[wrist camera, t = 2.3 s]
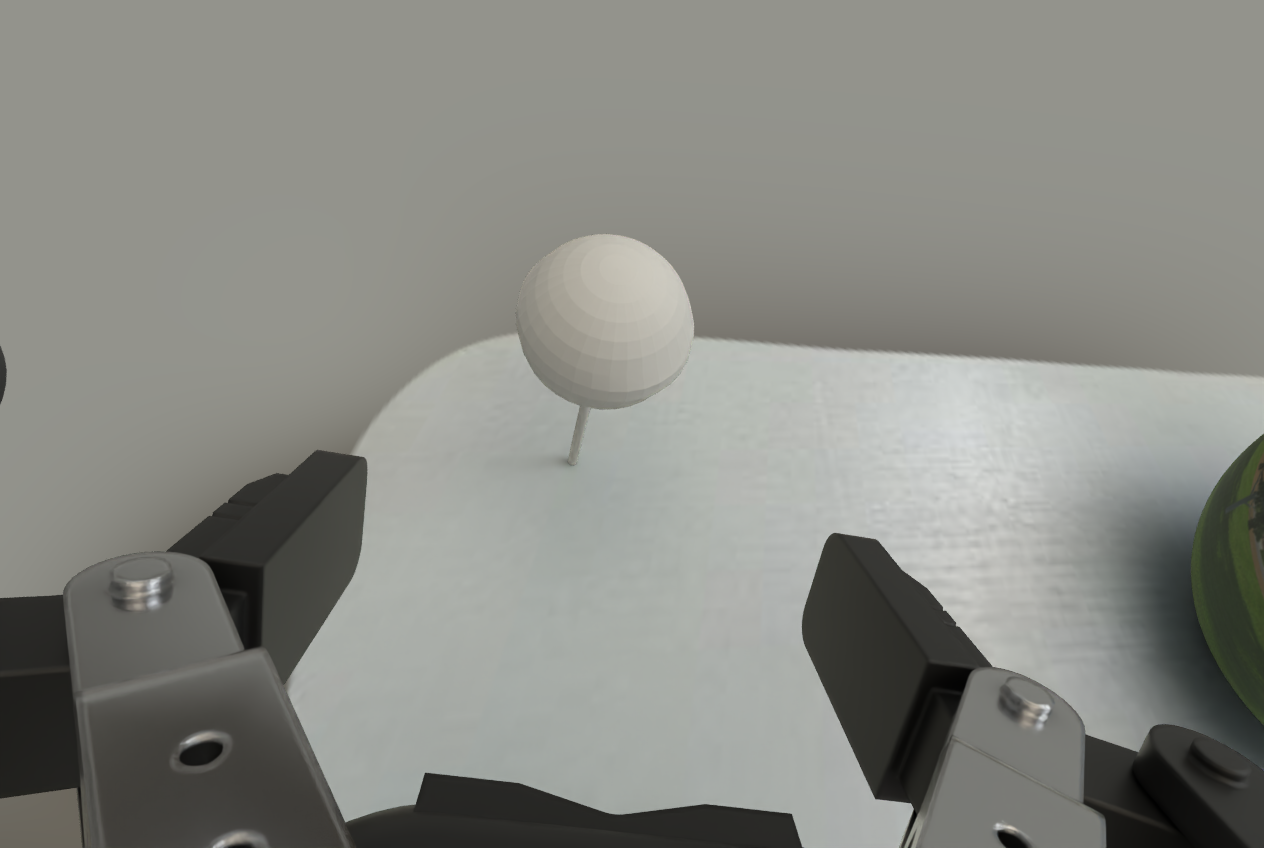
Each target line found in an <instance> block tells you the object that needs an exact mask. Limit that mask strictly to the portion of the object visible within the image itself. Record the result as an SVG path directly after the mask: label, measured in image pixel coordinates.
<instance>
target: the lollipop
mask: <svg viewBox="0 0 1264 848" xmlns="http://www.w3.org/2000/svg"><path fill="white" fill-rule="evenodd" d="M516 325H517V331H518V335H519V338H520V342H521V346H522V349H523V353H524V355H525V357H526V359H527V361H528V362H529V364H530V366H531V368H532V370H533V371H534V373H535V374H536V376H537V377H538V378H539V379H540V380H541V382H542V383H543V384H544V385H545V386H546V387H548V388H549V389H550V390H551V391H553V392H554V393H555V394H556V395H558V396H560V397H562V398H564V399H565V400H567V401H569V402H572V403H575V404H577V405H580V408H579V413H578V417H577V422H576V426H575V431H574V435H573V440H572V444H571V449H570V453H569V458H568V463H569V464H570V465H575V464H576V463H577V460H578V456H579V452H580V448H581V444H582V440H583V437H584V433H585V429H586V425H587V421H588V417H589V413H590V409H591V408H594V409H619V408H624V407H629V406H632V405H634V404H637V403H639V402H642V401H644V400H646V399H647V398H649V397H650V396H652V395H654V394H656V393H658V392H660V391H661V390H663V389H664V388H666V387H667V386H669V385H670V384H671V383H672V382H673V381H674V380H675V379H676V378H677V377H678V376H679V375H680V373H681V372H682V370H683V368H684V366H685V365H686V363H687V361H688V357H689V354H690V350H691V346H692V342H693V338H694V321H693V316H692V311H691V306H690V302H689V298H688V296H687V293H686V291H685V288H684V285H683V284H682V281H681V279H680V277H679V276H678V274H677V273H676V271H675V270H674V268H673V267H672V266H671V265H670V264H669V263H668V262H667V261H666V259H664V257H662V256H661V255H660V254H658V253H657V252H656V251H654V250H653V249H651V248H650V247H649V246H647V245H645V244H643V243H641V242H639V241H637V240H634V239H631V238H629V237H625V236H619V235H614V234H599V235H591V236H584V237H581V238H577V239H575V240H571V241H569V242H567V243H566V244H563V245H562V246H560V247H558V248H557V249H556V250H554V251H553V252H552V253H550V254H548V255H547V256H545V257H544V258H543V259H542V260H540V261H539V262H538V263H537V264H535V265H534V267H533V268H532V269H531V271H530V272H529V273H528V274H527V276H526V277H525V280H524V282H523V284H522V286H521V289H520V293H519V297H518V303H517V309H516Z"/></svg>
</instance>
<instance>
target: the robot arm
mask: <svg viewBox="0 0 1264 848" xmlns="http://www.w3.org/2000/svg"><path fill="white" fill-rule="evenodd" d="M366 485H367V461H366V459H365V458H364V457H359V456H353V455H346V454H339V453H334V452H327V451H321V450H317V451H315V452H314V453H313V454H312V455H310V457H308V458H307V459H306V460H305V461H304V462H303V463H302V464H301V465H299V466H298V467H297V468H296V469H295V470H294V471H293V472H292V473H291V474H289V475H285V474H278V473H276V474H273V475H271V476H268V477H265V478H263V479H260V480H257V481H255V482H252V483H249V484H247V485H246V486H244V487H243V488H242V489H241V490H240V491H238V492H237V493H236V494H235V495H234V496H233V497H231V498H230V499H229V501H228V503H224V504H223V505H222V506H220V507H219V508H218V509H217V510H215V511H214V512H213V515H212V516H209V517H207V518H206V519H205V520H204V521H202V522H201V523H200V524H198V525H197V526H196V527H195V528H194V529H192V530H191V531H190V532H189V533H188V534H186V535H185V536H184V537H183V538H181V539H180V540H179V541H178V542H177V543H175V544H174V545H173V546H172V547H171V548H170V549H168V550H167V551H166V552H160V551H157V552H141V553H134V554H128V555H122V556H118V557H115V558H111V559H108V560H105V561H102V562H99V563H97V564H95V565H92V566H90V567H88V568H86V569H85V570H83V571H81V572H80V573H78V574H77V575H76V576H74V577H73V578H72V579H71V580H70V581H69V582H68V583H67V585H66V586H65V588H64V592H63V595H56V596H37V597H17V598H16V597H15V598H0V798H7V797H14V796H21V795H27V794H35V793H42V792H49V791H56V790H63V789H70V788H77V800H78V810H79V820H80V830H81V841H82V848H803V847H802V845H801V842H800V839H799V836H798V832H797V829H796V826H795V823H794V820H793V816H792V814H788V813H779V812H770V811H761V810H752V809H743V808H734V807H726V806H717V805H708V804H704V805H696V806H688V807H680V808H672V809H664V810H656V811H648V812H640V813H632V814H624V815H615V814H609V813H605V812H602V811H599V810H596V809H593V808H590V807H587V806H584V805H581V804H578V803H575V802H572V801H570V800H567V799H564V798H561V797H558V796H555V795H552V794H549V793H546V792H543V791H540V790H537V789H534V788H531V787H529V786H526V785H523V784H520V783H512V782H503V781H494V780H485V779H476V778H467V777H459V776H450V775H441V774H432V773H425V775H424V778H423V782H422V785H421V789H420V792H419V795H418V799H417V802H416V805H408V806H401V807H396V808H392V809H387V810H383V811H378V812H375V813H372V814H369V815H366V816H363V817H360V818H357V819H354V820H351V821H348V822H346V823H345V821H344V819H343V817H342V814H341V812H340V810H339V808H338V805H337V803H336V801H335V799H334V797H333V794H332V792H331V790H330V788H329V786H328V783H327V781H326V779H325V777H324V774H323V772H322V770H321V768H320V766H319V763H318V761H317V759H316V757H315V754H314V752H313V750H312V748H311V746H310V743H309V741H308V739H307V737H306V734H305V732H304V730H303V728H302V726H301V723H300V721H299V719H298V717H297V714H296V712H295V710H294V708H293V706H292V703H291V701H290V699H289V697H288V695H287V692H286V690H285V688H284V684H285V682H286V681H287V679H288V678H289V676H290V675H291V673H292V672H293V670H294V668H295V667H296V665H297V664H298V662H299V661H300V659H301V657H302V656H303V654H304V653H305V651H306V650H307V648H308V647H309V645H310V643H311V642H312V640H313V639H314V637H315V636H316V634H317V633H318V631H319V629H320V628H321V626H322V625H323V623H324V622H325V620H326V618H327V617H328V615H329V614H330V612H331V611H332V609H333V608H334V606H335V604H336V603H337V601H338V600H339V598H340V597H341V595H342V594H343V592H344V590H345V589H346V587H347V586H348V584H349V583H350V581H351V579H352V577H353V575H354V572H355V570H356V567H357V564H358V560H359V556H360V551H361V545H362V534H363V522H364V510H365V497H366ZM802 635H803V641H804V644H805V647H806V649H807V651H808V653H809V656H810V658H811V660H812V662H813V664H814V667H815V669H816V671H817V673H818V675H819V677H820V680H821V682H822V684H823V686H824V688H825V690H826V693H827V695H828V697H829V699H830V701H831V704H832V706H833V708H834V710H835V712H836V714H837V717H838V719H839V721H840V723H841V725H842V728H843V730H844V732H845V734H846V736H847V738H848V741H849V743H850V745H851V747H852V749H853V752H854V754H855V756H856V758H857V760H858V762H859V765H860V767H861V769H862V771H863V773H864V776H865V778H866V780H867V782H868V784H869V786H870V789H871V791H872V793H873V795H874V797H875V799H880V800H888V801H897V802H906V803H911V804H912V806H913V808H914V810H913V812H912V815H911V817H910V820H909V822H908V824H907V827H906V829H905V832H904V835H903V837H902V840H901V843H900V846H899V848H1264V771H1263V770H1262V769H1260V768H1259V767H1258V766H1257V765H1255V764H1254V763H1252V762H1251V761H1250V760H1248V759H1247V758H1245V757H1244V756H1242V755H1241V754H1239V753H1238V752H1236V751H1234V750H1233V749H1231V748H1229V747H1228V746H1226V745H1224V744H1222V743H1220V742H1218V741H1216V740H1214V739H1212V738H1210V737H1208V736H1206V735H1203V734H1201V733H1198V732H1196V731H1193V730H1190V729H1187V728H1183V727H1179V726H1175V725H1167V724H1162V725H1156V726H1154V727H1152V728H1151V729H1150V731H1149V733H1148V735H1147V737H1146V739H1145V741H1144V743H1143V744H1142V746H1141V748H1140V750H1139V752H1136V751H1133V750H1130V749H1127V748H1124V747H1121V746H1118V745H1115V744H1112V743H1109V742H1106V741H1103V740H1100V739H1097V738H1094V737H1091V736H1088V735H1085V726H1084V724H1083V721H1082V719H1081V718H1080V716H1079V715H1078V713H1077V712H1076V711H1075V710H1074V709H1073V708H1072V707H1071V706H1070V705H1069V704H1068V703H1067V702H1066V701H1065V700H1064V699H1062V698H1061V697H1060V696H1058V695H1057V694H1056V693H1054V692H1053V691H1051V690H1050V689H1048V688H1047V687H1045V686H1043V685H1042V684H1040V683H1038V682H1036V681H1034V680H1032V679H1030V678H1028V677H1026V676H1023V675H1021V674H1018V673H1015V672H1012V671H1009V670H1005V669H1001V668H995V667H992V665H991V664H990V663H989V662H988V661H987V659H986V658H985V657H984V656H983V655H982V653H981V652H980V651H979V650H978V649H977V647H976V646H975V645H974V644H973V643H972V641H971V640H970V639H969V638H968V637H967V635H966V634H965V633H964V632H963V631H962V629H961V628H960V627H956V622H955V621H954V620H953V619H952V618H951V616H950V615H949V614H948V613H947V612H946V611H943V607H942V606H941V604H940V603H939V602H938V601H937V600H936V598H935V597H934V596H933V595H932V594H931V592H930V591H929V590H928V589H927V588H926V587H924V586H923V585H922V584H920V583H919V582H918V581H916V580H915V579H913V578H912V577H911V576H909V575H908V574H907V573H905V572H904V571H902V570H901V568H900V567H899V566H898V565H897V563H896V562H895V561H894V560H893V559H892V557H891V556H890V555H889V554H888V552H887V551H886V550H885V549H884V547H883V546H882V545H881V544H880V542H878V541H877V540H876V539H870V538H864V537H858V536H851V535H845V534H839V533H833V534H831V535H830V536H829V537H828V539H827V540H826V543H825V545H824V548H823V551H822V554H821V557H820V560H819V563H818V567H817V570H816V573H815V576H814V579H813V582H812V586H811V589H810V592H809V595H808V598H807V602H806V605H805V608H804V612H803V619H802Z"/></svg>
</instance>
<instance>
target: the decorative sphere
mask: <svg viewBox="0 0 1264 848" xmlns="http://www.w3.org/2000/svg"><path fill="white" fill-rule="evenodd" d="M1191 584H1192V593H1193V599H1194V605H1195V609H1196V613H1197V617H1198V620H1199V623H1200V626H1201V629H1202V632H1203V635H1204V637H1205V640H1206V642H1207V644H1208V646H1209V649H1210V651H1211V653H1212V655H1213V657H1214V659H1215V661H1216V662H1217V664H1218V666H1219V668H1220V669H1221V671H1222V673H1223V674H1224V676H1225V678H1226V679H1227V681H1228V682H1229V684H1230V685H1231V687H1232V688H1233V689H1234V691H1235V692H1236V694H1237V695H1238V696H1239V697H1240V699H1241V700H1242V701H1243V703H1244V704H1245V705H1246V706H1247V707H1248V709H1249V710H1250V711H1251V712H1252V713H1253V714H1254V716H1255V717H1256V718H1257V719H1258V720H1259V721H1260V722H1261V723H1262V724H1263V725H1264V434H1263V435H1262V436H1260V437H1259V438H1258V439H1257V440H1256V441H1254V442H1253V443H1252V444H1251V445H1250V446H1249V447H1248V448H1247V449H1246V450H1245V451H1244V452H1243V453H1242V454H1241V455H1240V456H1239V457H1238V458H1237V459H1236V460H1235V461H1234V462H1233V463H1232V464H1231V466H1230V467H1229V468H1228V469H1227V471H1226V472H1225V473H1224V474H1223V476H1222V477H1221V479H1220V480H1219V482H1218V483H1217V485H1216V486H1215V488H1214V489H1213V491H1212V493H1211V495H1210V497H1209V498H1208V500H1207V503H1206V505H1205V507H1204V509H1203V511H1202V514H1201V517H1200V519H1199V522H1198V525H1197V529H1196V533H1195V537H1194V542H1193V548H1192V556H1191Z"/></svg>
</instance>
